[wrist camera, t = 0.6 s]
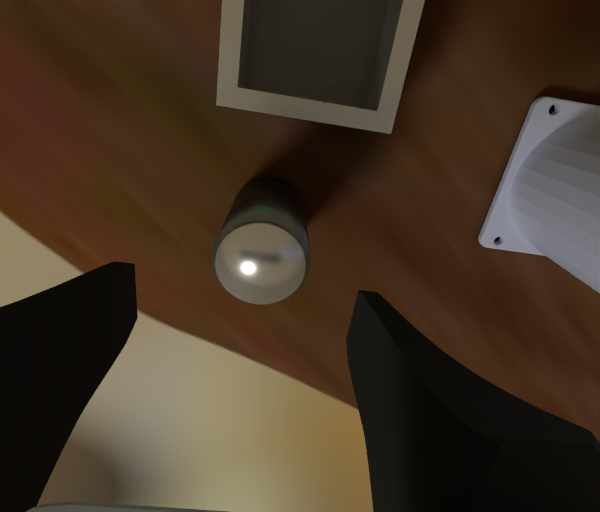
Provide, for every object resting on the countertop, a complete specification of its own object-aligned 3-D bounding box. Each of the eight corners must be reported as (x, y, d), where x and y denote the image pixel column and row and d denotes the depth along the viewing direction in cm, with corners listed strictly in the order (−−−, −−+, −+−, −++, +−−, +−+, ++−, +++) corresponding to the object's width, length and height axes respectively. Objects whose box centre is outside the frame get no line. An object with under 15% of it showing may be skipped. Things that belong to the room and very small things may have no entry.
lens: (310, 183, 20) (318, 226, 14) (299, 250, 22) (301, 313, 16) (235, 172, 19) (212, 212, 14) (230, 240, 21) (207, 302, 15)
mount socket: (411, -51, 16) (447, -90, 12) (371, 122, 19) (391, 133, 15) (244, -87, 15) (229, -139, 11) (231, 99, 18) (216, 104, 14)
